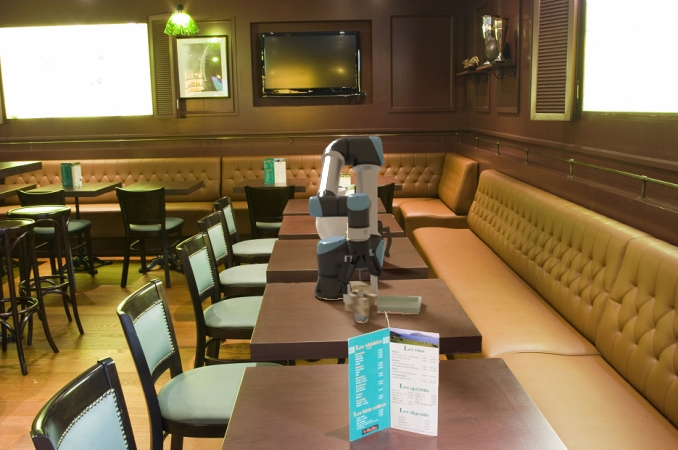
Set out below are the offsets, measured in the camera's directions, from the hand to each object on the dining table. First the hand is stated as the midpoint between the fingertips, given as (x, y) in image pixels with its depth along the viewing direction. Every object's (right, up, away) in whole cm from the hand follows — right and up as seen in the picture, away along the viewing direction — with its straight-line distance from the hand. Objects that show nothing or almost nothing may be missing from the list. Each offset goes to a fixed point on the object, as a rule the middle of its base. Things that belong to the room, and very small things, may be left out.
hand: (360, 298), depth 223 cm
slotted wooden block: (0, -5, +1) cm, 5 cm away
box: (+4, +2, +51) cm, 52 cm away
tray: (+14, -5, +14) cm, 21 cm away
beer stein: (+10, +8, +77) cm, 78 cm away
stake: (0, -8, +2) cm, 9 cm away
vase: (-9, +15, +112) cm, 113 cm away
